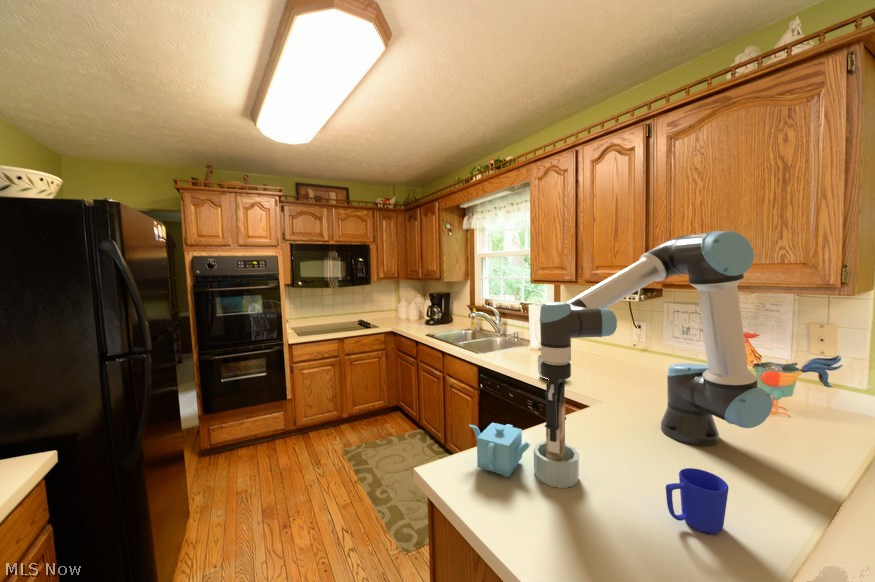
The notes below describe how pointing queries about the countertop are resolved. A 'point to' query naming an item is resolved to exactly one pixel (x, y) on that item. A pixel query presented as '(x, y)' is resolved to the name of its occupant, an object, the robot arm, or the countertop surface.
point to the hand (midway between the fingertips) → (555, 447)
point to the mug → (700, 499)
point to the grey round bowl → (556, 467)
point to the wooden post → (562, 437)
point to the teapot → (499, 448)
